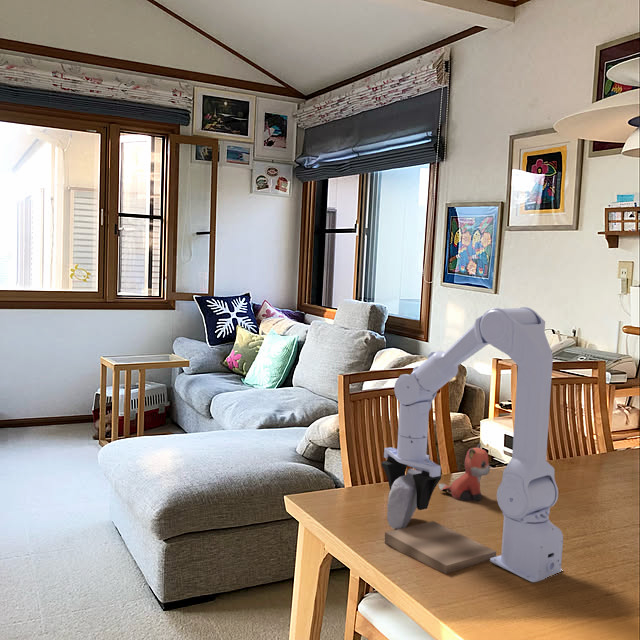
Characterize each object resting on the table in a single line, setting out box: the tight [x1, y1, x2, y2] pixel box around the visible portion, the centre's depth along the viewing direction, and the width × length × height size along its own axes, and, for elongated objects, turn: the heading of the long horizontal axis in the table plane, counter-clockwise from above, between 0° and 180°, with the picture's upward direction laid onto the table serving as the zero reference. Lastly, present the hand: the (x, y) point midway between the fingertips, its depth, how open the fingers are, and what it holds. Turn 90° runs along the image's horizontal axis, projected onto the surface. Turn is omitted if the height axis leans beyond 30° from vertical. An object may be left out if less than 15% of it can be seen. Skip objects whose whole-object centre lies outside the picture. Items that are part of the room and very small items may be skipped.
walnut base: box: [384, 520, 497, 575], centre depth 128 cm, size 16×12×2 cm
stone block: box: [386, 468, 422, 530], centre depth 140 cm, size 12×5×10 cm, turn 155°
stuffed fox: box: [437, 442, 491, 502], centre depth 158 cm, size 8×11×12 cm
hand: (408, 502), depth 141 cm, fingers open, 7 cm apart
